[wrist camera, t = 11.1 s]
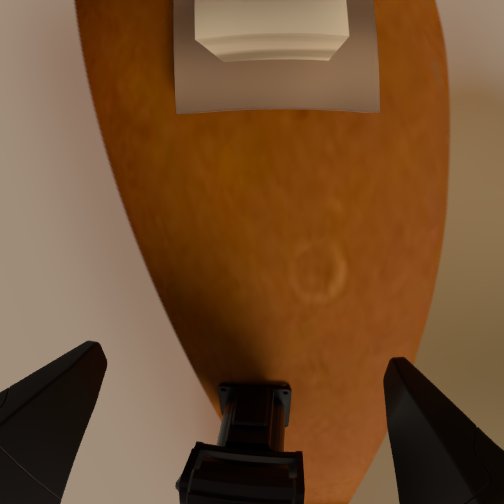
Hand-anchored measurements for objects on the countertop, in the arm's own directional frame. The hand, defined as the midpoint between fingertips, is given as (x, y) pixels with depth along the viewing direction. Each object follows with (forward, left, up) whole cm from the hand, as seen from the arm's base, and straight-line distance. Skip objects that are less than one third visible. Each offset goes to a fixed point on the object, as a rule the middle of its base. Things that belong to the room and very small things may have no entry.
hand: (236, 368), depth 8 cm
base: (+12, -1, -12) cm, 17 cm away
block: (+12, -1, -9) cm, 15 cm away
